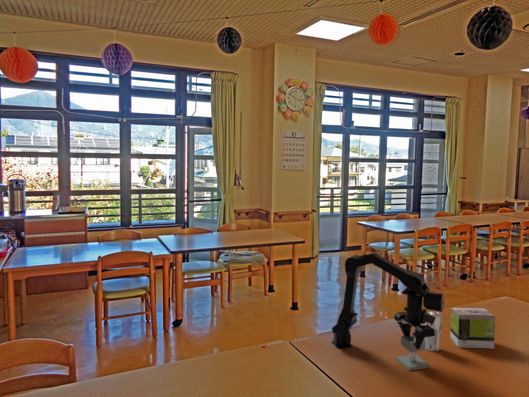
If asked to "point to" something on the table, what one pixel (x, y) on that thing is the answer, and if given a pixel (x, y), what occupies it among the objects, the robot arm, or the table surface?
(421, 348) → the square ring block
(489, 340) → the tea box
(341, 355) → the table surface
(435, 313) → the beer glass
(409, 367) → the shaft block
